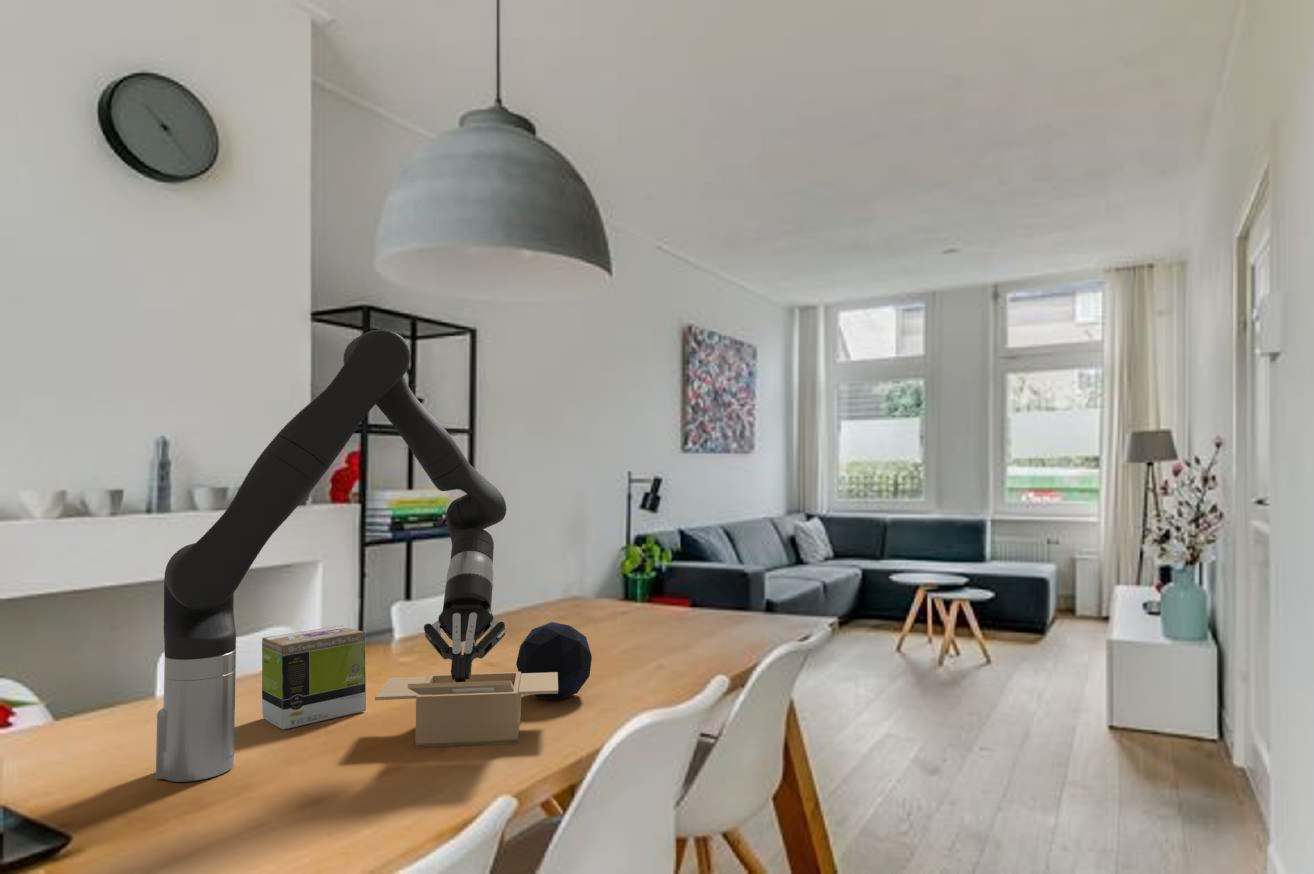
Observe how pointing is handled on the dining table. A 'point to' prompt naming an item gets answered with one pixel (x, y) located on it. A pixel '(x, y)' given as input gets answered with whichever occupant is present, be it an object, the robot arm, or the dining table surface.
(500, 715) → the carton
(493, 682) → the cardboard box flap
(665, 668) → the dining table surface
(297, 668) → the tea box
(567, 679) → the decorative orb
